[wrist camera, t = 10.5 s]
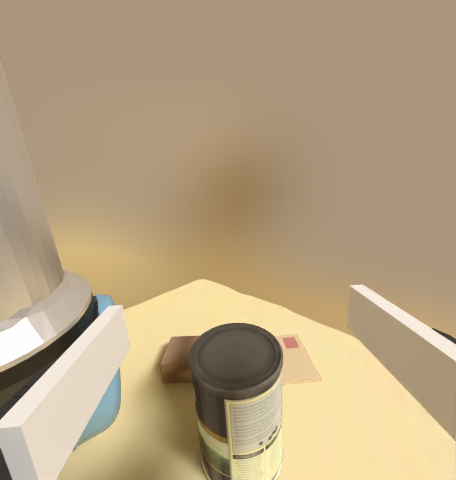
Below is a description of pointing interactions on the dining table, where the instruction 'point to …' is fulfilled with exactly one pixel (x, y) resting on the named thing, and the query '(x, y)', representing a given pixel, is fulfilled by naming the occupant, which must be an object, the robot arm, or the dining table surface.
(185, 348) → the walnut block
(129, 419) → the dining table surface
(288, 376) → the letter
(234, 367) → the coffee can
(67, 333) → the robot arm
